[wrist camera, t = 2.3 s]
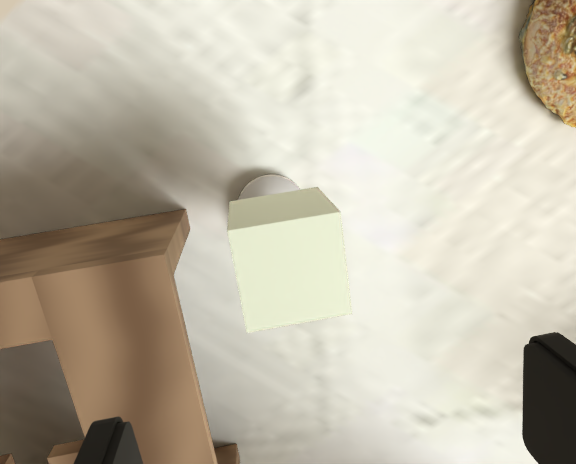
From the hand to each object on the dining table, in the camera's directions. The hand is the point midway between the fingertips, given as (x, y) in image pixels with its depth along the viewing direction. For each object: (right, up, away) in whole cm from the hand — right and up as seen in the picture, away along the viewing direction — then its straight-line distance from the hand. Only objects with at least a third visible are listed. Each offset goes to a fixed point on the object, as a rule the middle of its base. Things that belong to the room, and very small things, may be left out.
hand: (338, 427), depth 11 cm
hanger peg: (-2, +6, +22) cm, 23 cm away
